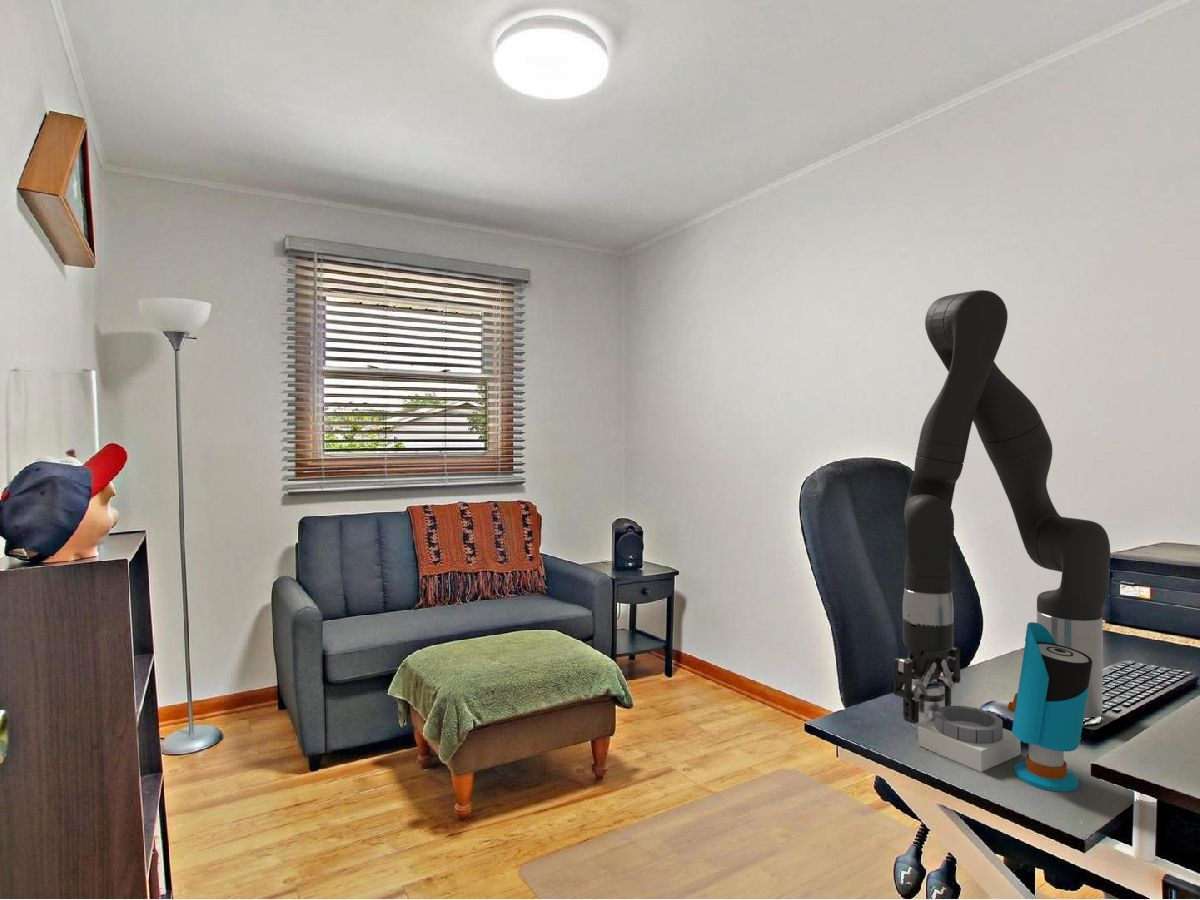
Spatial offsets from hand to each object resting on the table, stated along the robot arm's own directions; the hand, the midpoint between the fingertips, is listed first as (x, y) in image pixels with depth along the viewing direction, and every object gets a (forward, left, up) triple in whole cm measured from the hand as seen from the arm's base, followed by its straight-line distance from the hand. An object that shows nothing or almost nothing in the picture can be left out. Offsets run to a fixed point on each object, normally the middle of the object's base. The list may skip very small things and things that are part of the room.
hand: (927, 716), depth 116 cm
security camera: (+1, +19, -2) cm, 19 cm away
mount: (+2, +8, -2) cm, 9 cm away
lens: (0, 0, -2) cm, 2 cm away
